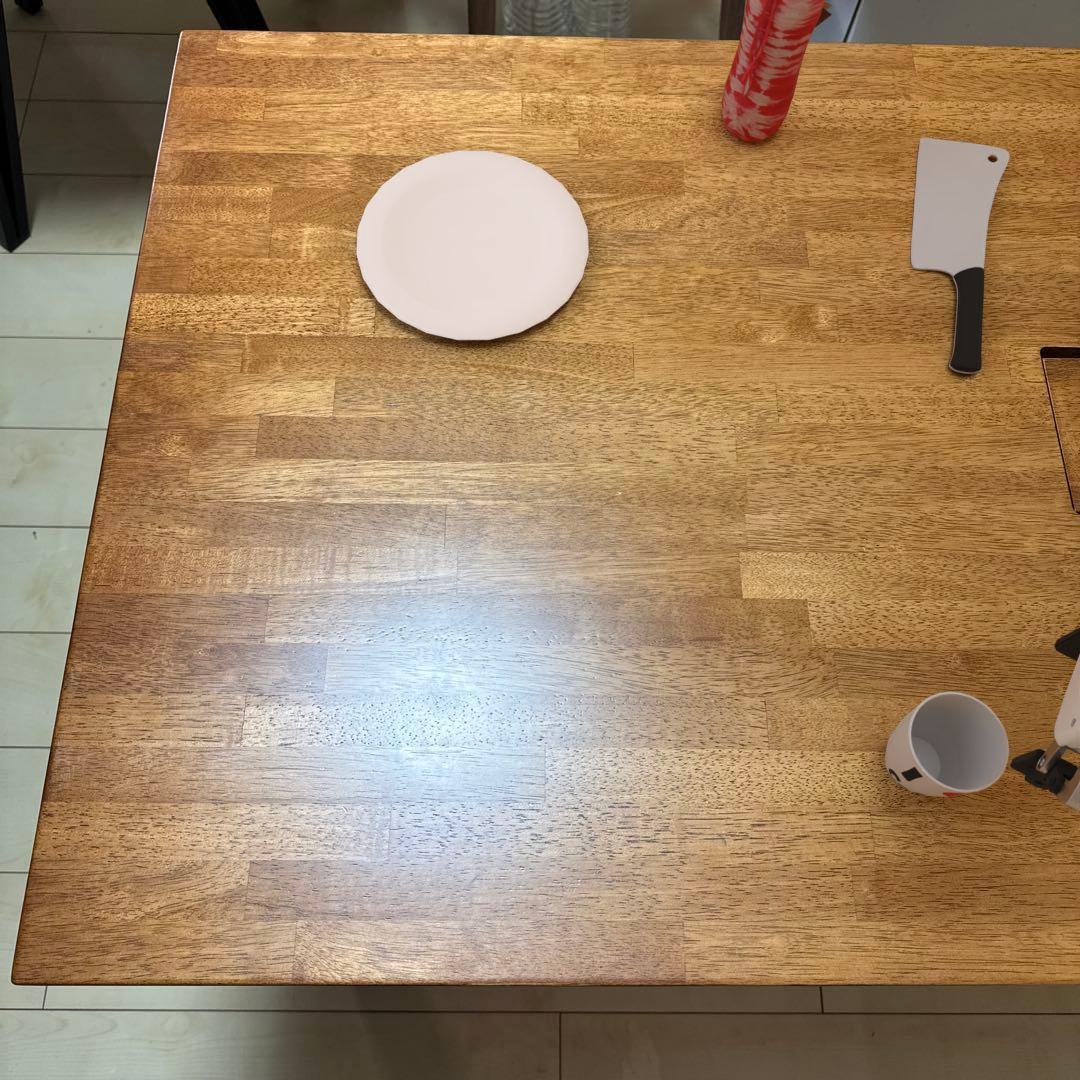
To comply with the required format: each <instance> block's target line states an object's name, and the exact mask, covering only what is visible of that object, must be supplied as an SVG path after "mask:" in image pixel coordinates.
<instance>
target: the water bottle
mask: <svg viewBox="0 0 1080 1080" xmlns="http://www.w3.org/2000/svg"><path fill="white" fill-rule="evenodd" d="M832 6H833V4H831V3H829V2H826V0H746V2H745V6H744V14H743V22H742V27H741V28H742V29H741V32H740V37H739V41H738V45H737V48H736V52H735V55H734V58H733V61H732V63H731V67H730V69H729V72H728V74H727V78H726V81H725V84H724V88H723V92H722V97H721V101H720V104H721V106H720V107H721V110H722V116H723V121H724V127H725V128H726V130H727V131H728V132H730V134H731V135H732V136H733V137H734V138H736V139H739V140H741V141H743V142H747V143H751V142H752V143H754V142H762V141H763V140H766V139H767V138H769V137H771V136H773V135H774V134H775V133H776V132H777V131H778V130H779V129H780V128H781V127H782V125H783V124H784V121H785V120H786V117H787V115H788V112H789V110H790V107H791V105H792V101H793V98H794V95H795V91H796V89H797V88H796V87H797V84H798V80H799V75H800V72H801V71H800V70H801V67H802V62H803V59H804V57H805V54H806V51H807V48H808V44H809V43H810V39H811V38H812V35H813V33H814V31H815V29H816V28H817V27H818V26H819V25H821V24H822V23H823V22H825V21H826V20H827V19H829V18H830V17H832V13H830V11H828V10H829V9H830V8H831V7H832Z"/></svg>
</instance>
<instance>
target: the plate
mask: <svg viewBox="0 0 1080 1080" xmlns="http://www.w3.org/2000/svg"><path fill="white" fill-rule="evenodd" d="M356 231H357V232H356V233H357V234H356V236H357V237H356V252H355V253H356V258H357V262H358V266H359V269H360V272H361V276H362V279H363V281H364V283H365V285H366V286H367V288H368V289H369V290H370V293H372V295H373V297H374V298H375V300H376V301H377V303H378V304H380V305H381V306H382V307H383V308H384V309H385V310H387V312H388V313H390V314H391V315H392V316H394V317H395V318H396V319H397V320H398V321H400V322H401V323H404V324H406V325H407V326H410V327H412V328H414V329H416V330H418V331H420V332H422V333H424V334H426V335H430V336H434V337H439V338H443V339H447V340H453V341H457V342H462V341H463V342H473V341H474V342H478V341H480V342H482V341H483V342H486V341H493V340H497V339H502V338H505V337H511V336H514V335H515V336H516V335H519V334H522V333H524V332H526V331H527V330H529V329H531V328H533V327H535V326H537V325H539V324H542V323H543V322H545V321H547V320H548V319H550V318H551V317H552V316H553V315H554V314H556V313H557V311H558V310H560V309H561V308H562V307H563V306H564V305H565V304H567V303H568V302H569V301H570V298H571V297H572V296H573V294H574V292H575V291H576V289H577V288H578V286H579V284H580V283H581V281H582V280H583V277H584V273H585V270H586V266H587V263H588V258H589V254H590V250H589V232H588V231H589V230H588V226H587V224H586V221H585V219H584V216H583V213H582V211H581V208H580V206H579V204H578V202H577V201H576V200H575V198H574V197H573V196H572V194H571V193H570V192H569V191H568V189H567V188H566V187H565V186H564V184H563V183H561V182H560V181H559V180H557V179H556V178H555V177H554V176H552V175H551V174H549V172H547V171H546V170H544V169H543V168H542V167H540V166H537V165H536V164H534V163H531V162H529V161H526V160H524V159H522V158H520V157H517V156H514V155H509V154H506V153H500V152H496V151H490V150H454V151H450V152H445V153H441V154H436V155H430V156H428V157H425V158H424V159H421V160H419V161H417V162H414V163H412V164H409V165H408V166H406V167H403V168H402V169H401V170H400V171H397V173H396V174H394V175H393V176H391V177H390V178H389V179H388V180H387V181H385V182H384V183H383V184H381V186H380V187H379V188H378V189H377V191H376V192H375V194H374V195H373V196H372V198H371V199H370V200H369V201H368V203H367V204H366V206H365V209H364V211H363V212H362V216H361V219H360V222H359V223H358V227H357V230H356Z"/></svg>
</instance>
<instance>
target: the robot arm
mask: <svg viewBox="0 0 1080 1080" xmlns="http://www.w3.org/2000/svg"><path fill="white" fill-rule="evenodd" d="M1053 646H1054V647H1053V648H1055V651H1056V652H1057V653H1059V654H1060V655H1061V654H1062V655H1064V656H1066V657H1068V658H1069V659H1071V660H1074V661H1076V664H1075V666H1074V669H1073V672H1072V674H1071V677H1070V680H1069V682H1068V684H1067V685H1068V686H1067V688H1066V691H1065V694H1064V697H1063V700H1062V703H1061V706H1060V708H1059V712H1058V714H1057V717H1056V720H1055V725H1054V730H1053V735H1054V740H1053V741H1052V742H1051V744H1050V745H1049V746H1048V748H1047V749H1046V750H1045V749H1042V748H1035V749H1034V750H1031V751H1028V752H1026V753H1022V754H1021V755H1018V756H1015V757H1014V758H1012V759H1011V761H1010V763H1009V767H1010V768H1011V769H1012V770H1014V771H1016V772H1018V773H1020V774H1022V775H1023V776H1024V777H1023V781H1024V782H1026V783H1028V784H1029V785H1031V786H1033V787H1035V788H1038V789H1040V790H1045V791H1046V790H1048V792H1049V793H1051V794H1053V795H1055V797H1056V798H1057V799H1058V800H1059V801H1060V802H1061V804H1063V805H1065V806H1067V807H1069V808H1071V809H1073V810H1075V811H1076V812H1079V813H1080V765H1079V766H1077V765H1076V764H1074V763H1072V762H1070V761H1068V760H1066V759H1064V758H1063V756H1064V755H1065V754H1066V752H1068V750H1070V751H1072V752H1073V753H1075V754H1078V755H1080V626H1079V627H1077V628H1075V629H1073V630H1072V631H1070V632H1068V633H1067V634H1065V635H1062V636H1061V637H1059V638H1058V639H1056V640H1055V643H1054V645H1053Z"/></svg>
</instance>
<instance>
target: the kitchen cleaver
mask: <svg viewBox="0 0 1080 1080" xmlns="http://www.w3.org/2000/svg"><path fill="white" fill-rule="evenodd" d="M990 157H993V158H996V161H995V162H994V161H990V160H989V158H990ZM1010 157H1011V155H1010V152H1009V151H1008V150H1007V149H1005V148H1002V147H997V146H993V145H986V144H982V143H981V144H980V143H973V142H967V141H966V142H965V141H957V140H956V141H955V140H948V139H945V140H944V139H938V138H931V137H920V139H919V141H918V150H917V157H916V158H917V159H916V169H915V170H916V171H915V187H914V197H913V199H914V200H913V216H912V226H911V241H910V264H911V268H913V269H914V270H917V271H934V272H935V271H937V272H942V273H946V274H949V275H950V276H951V277H952V281H953V283H954V285H955V288H956V300H957V301H956V316H955V327H954V328H955V329H954V340H953V350H952V355H951V358H950V360H949V364H948V367H949V370H950V371H952V373H953V374H955V375H957V376H960V377H961V376H962V377H968V376H972V375H976V374H978V373H980V372H981V371H982V367H983V359H982V350H983V349H982V347H983V321H984V320H983V319H984V299H985V260H986V248H987V237H988V227H989V219H990V215H991V210H992V207H993V203H994V199H995V195H996V192H997V190H998V186H999V183H1000V182H1001V180H1002V176H1003V174H1004V172H1005V171H1006V168H1007V166H1008V164H1009V161H1010Z"/></svg>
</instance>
